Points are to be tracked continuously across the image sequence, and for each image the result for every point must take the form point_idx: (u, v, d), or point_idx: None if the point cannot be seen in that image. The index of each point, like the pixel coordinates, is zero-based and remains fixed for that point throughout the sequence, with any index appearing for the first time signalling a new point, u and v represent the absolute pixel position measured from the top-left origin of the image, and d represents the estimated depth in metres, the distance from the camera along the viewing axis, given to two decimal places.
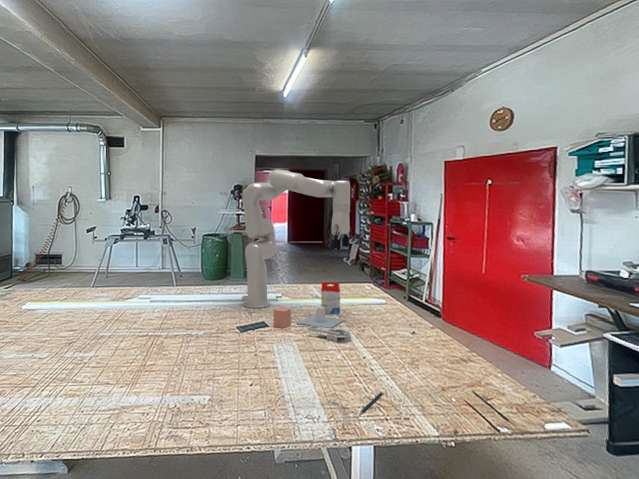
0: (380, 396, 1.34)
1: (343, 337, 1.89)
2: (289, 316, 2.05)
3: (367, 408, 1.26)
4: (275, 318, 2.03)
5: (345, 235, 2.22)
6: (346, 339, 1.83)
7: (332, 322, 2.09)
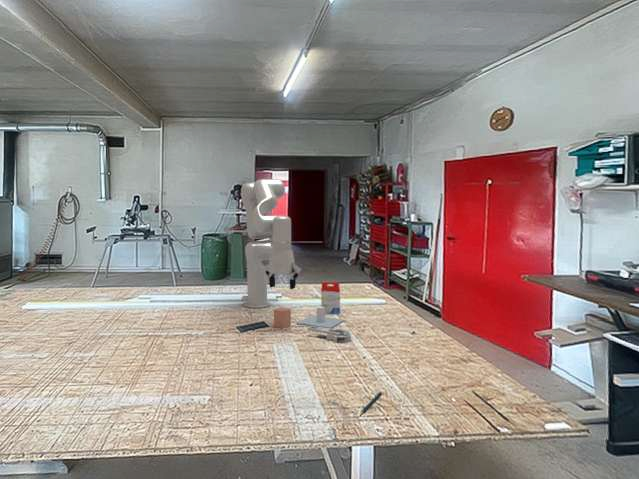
0: (379, 396, 1.34)
1: (343, 337, 1.89)
2: (289, 316, 2.05)
3: (367, 408, 1.26)
4: (275, 318, 2.03)
5: None
6: (346, 339, 1.83)
7: (332, 322, 2.09)
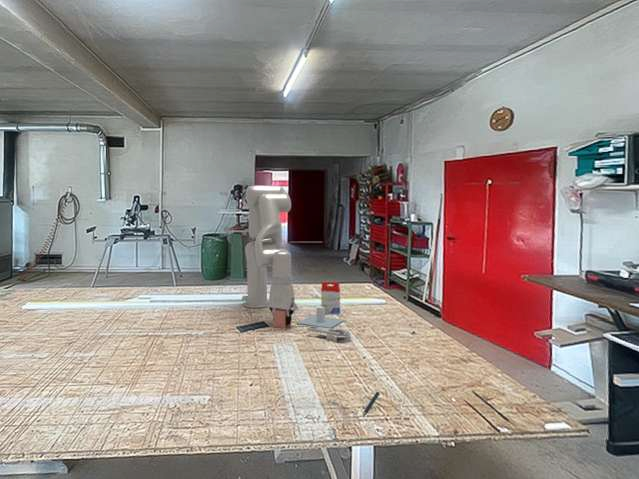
0: (377, 395, 1.34)
1: (343, 337, 1.89)
2: None
3: (369, 408, 1.26)
4: (275, 318, 2.03)
5: None
6: (346, 339, 1.83)
7: (332, 322, 2.09)
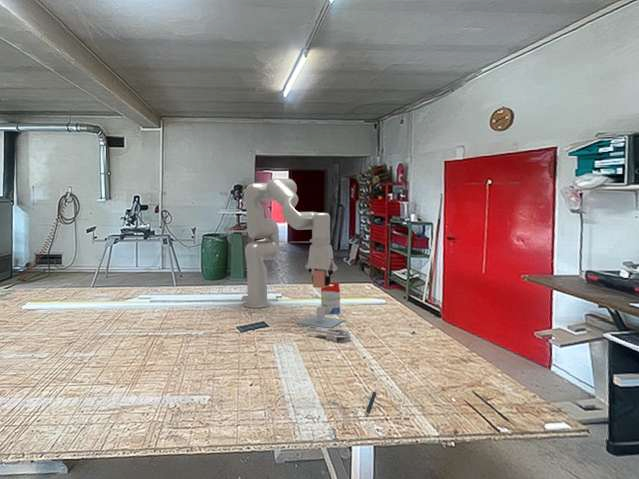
0: (375, 395, 1.34)
1: (342, 337, 1.89)
2: None
3: (370, 408, 1.26)
4: (314, 278, 2.06)
5: None
6: (345, 339, 1.83)
7: (332, 322, 2.09)
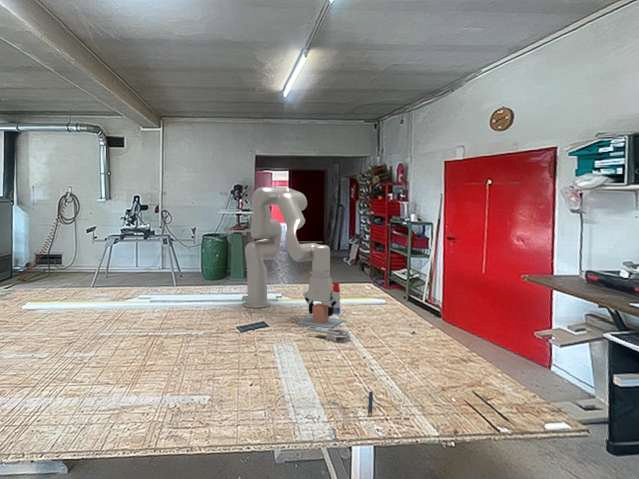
0: (372, 395, 1.35)
1: (342, 337, 1.89)
2: (327, 312, 2.10)
3: (371, 409, 1.26)
4: (314, 314, 2.08)
5: None
6: (345, 339, 1.83)
7: (332, 322, 2.09)
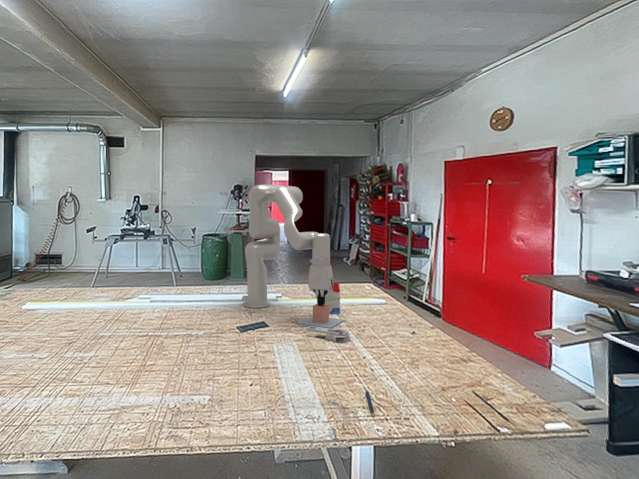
0: (369, 395, 1.35)
1: (342, 337, 1.89)
2: (327, 312, 2.10)
3: None
4: (314, 314, 2.08)
5: None
6: (345, 339, 1.83)
7: (332, 322, 2.09)
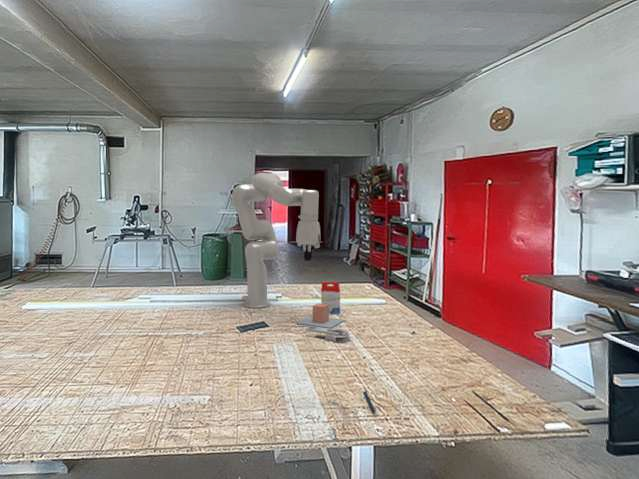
0: None
1: (341, 337, 1.89)
2: (327, 312, 2.10)
3: None
4: (314, 314, 2.08)
5: (305, 248, 2.15)
6: (345, 339, 1.83)
7: (332, 322, 2.09)
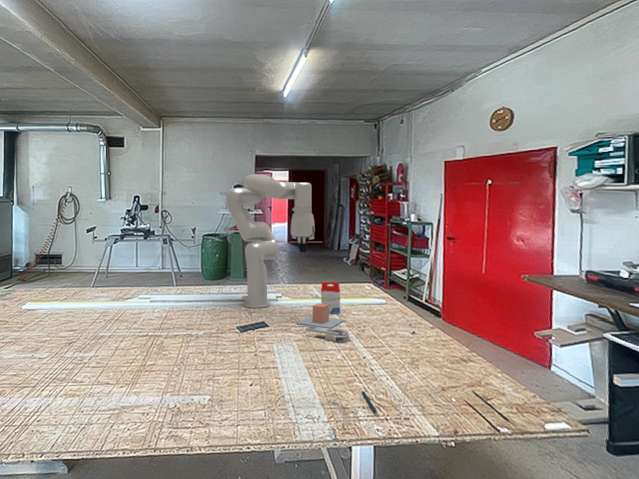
0: (366, 395, 1.35)
1: (341, 337, 1.89)
2: (327, 312, 2.10)
3: None
4: (314, 314, 2.08)
5: None
6: (345, 339, 1.83)
7: (332, 322, 2.09)
